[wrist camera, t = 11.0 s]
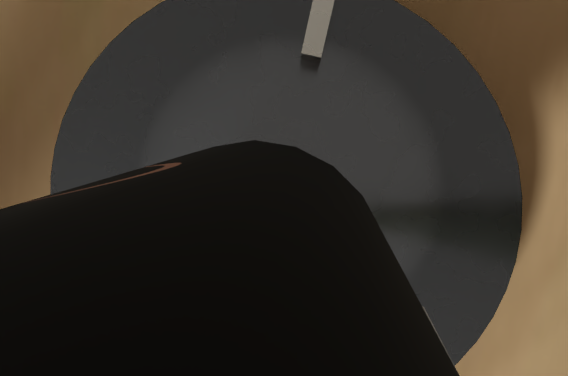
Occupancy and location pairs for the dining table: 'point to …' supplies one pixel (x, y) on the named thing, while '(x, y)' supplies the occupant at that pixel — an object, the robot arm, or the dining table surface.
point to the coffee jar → (209, 275)
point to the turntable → (322, 127)
